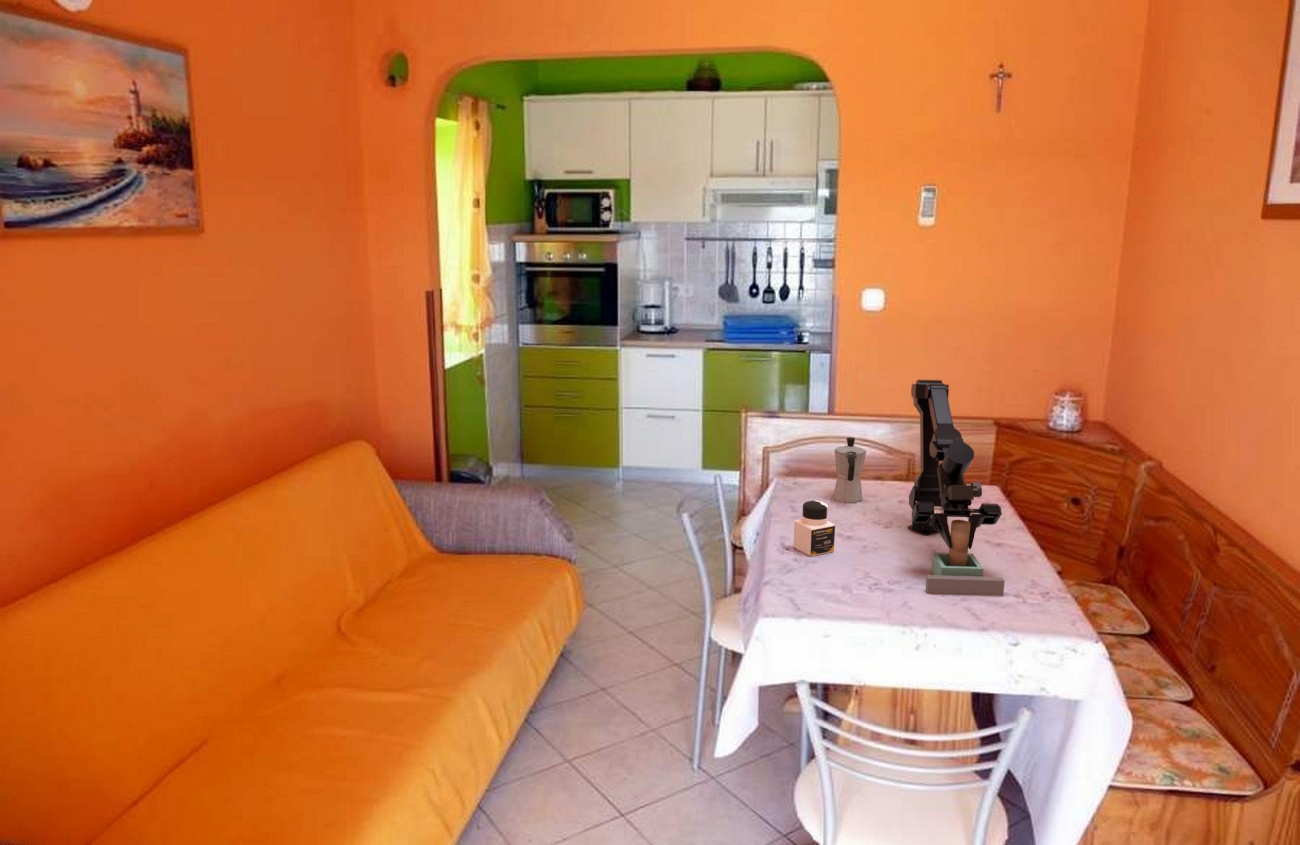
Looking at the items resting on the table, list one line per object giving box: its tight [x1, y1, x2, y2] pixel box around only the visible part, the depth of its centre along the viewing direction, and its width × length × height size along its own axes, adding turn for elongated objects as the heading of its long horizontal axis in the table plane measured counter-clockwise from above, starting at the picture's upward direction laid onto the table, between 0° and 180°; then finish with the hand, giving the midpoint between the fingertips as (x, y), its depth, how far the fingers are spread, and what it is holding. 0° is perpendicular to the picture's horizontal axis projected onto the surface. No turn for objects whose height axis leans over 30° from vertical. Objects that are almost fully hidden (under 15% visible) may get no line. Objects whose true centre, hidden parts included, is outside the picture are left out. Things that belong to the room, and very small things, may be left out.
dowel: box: [948, 519, 970, 567], centre depth 209 cm, size 4×4×12 cm
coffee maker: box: [832, 436, 867, 504], centre depth 265 cm, size 15×9×18 cm, turn 172°
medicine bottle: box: [793, 500, 836, 557], centre depth 228 cm, size 7×7×12 cm
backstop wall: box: [925, 574, 1005, 597], centre depth 204 cm, size 2×16×4 cm, turn 86°
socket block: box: [930, 552, 984, 577], centre depth 211 cm, size 9×9×4 cm
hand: (960, 547), depth 208 cm, fingers closed on dowel, 4 cm apart
